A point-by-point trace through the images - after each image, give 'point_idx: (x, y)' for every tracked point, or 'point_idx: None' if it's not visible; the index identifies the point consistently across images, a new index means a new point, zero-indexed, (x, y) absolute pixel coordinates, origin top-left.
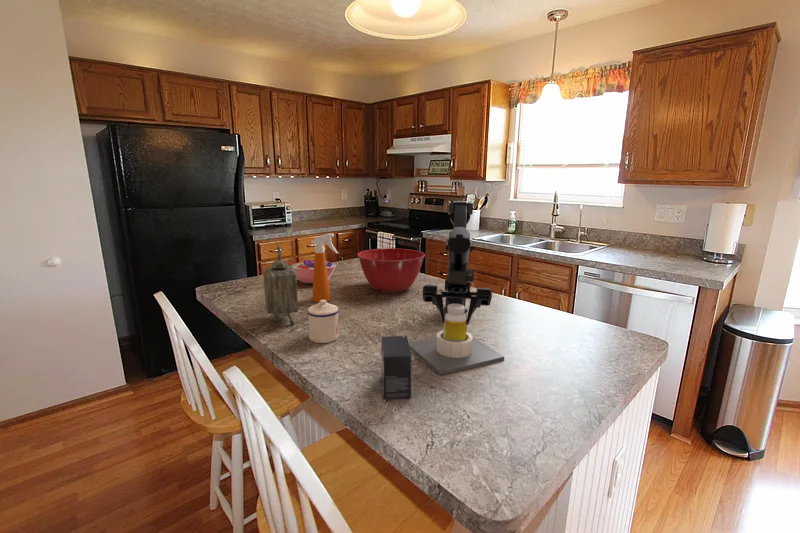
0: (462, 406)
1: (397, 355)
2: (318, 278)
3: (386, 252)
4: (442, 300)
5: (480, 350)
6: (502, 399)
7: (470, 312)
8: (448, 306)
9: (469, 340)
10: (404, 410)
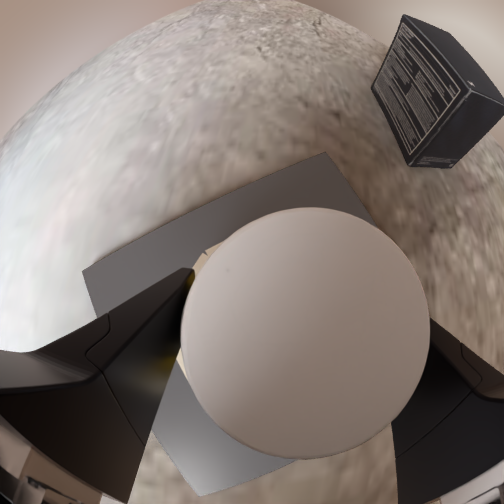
0: (267, 64)
1: (429, 24)
2: None
3: None
4: (499, 400)
5: None
6: (176, 85)
7: (131, 312)
8: (422, 312)
9: (196, 271)
10: (370, 67)
